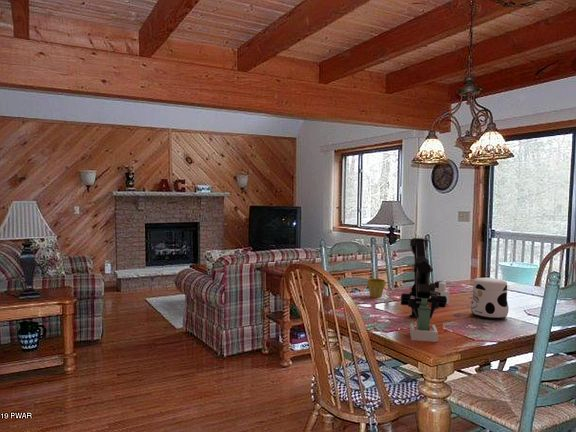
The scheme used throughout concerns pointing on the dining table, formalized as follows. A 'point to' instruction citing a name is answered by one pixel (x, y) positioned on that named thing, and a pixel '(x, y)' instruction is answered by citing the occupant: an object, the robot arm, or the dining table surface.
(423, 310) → the glass bottle
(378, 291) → the plant pot
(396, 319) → the dining table surface
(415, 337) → the u rest
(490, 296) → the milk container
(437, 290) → the medicine bottle
